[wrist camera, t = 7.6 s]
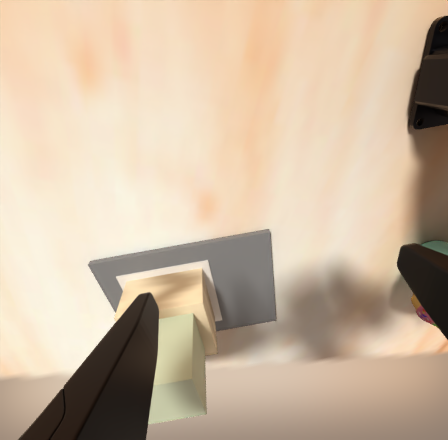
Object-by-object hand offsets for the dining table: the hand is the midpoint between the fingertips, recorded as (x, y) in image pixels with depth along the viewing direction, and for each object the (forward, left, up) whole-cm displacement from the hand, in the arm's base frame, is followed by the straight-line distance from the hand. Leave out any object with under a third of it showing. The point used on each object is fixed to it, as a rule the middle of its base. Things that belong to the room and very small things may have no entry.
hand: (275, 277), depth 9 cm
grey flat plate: (+6, +12, -12) cm, 18 cm away
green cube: (+8, +12, -7) cm, 16 cm away
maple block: (+8, +12, -11) cm, 18 cm away
